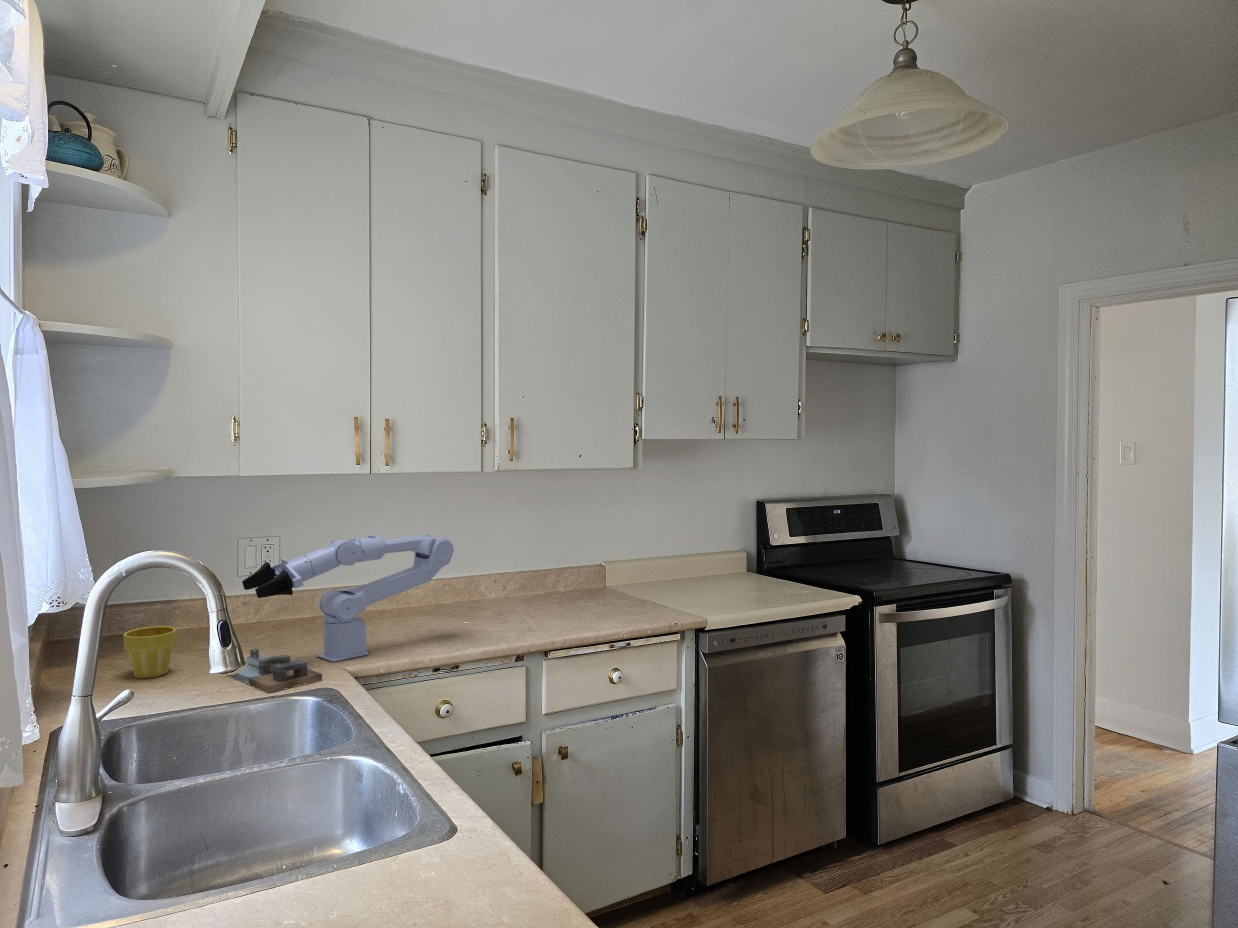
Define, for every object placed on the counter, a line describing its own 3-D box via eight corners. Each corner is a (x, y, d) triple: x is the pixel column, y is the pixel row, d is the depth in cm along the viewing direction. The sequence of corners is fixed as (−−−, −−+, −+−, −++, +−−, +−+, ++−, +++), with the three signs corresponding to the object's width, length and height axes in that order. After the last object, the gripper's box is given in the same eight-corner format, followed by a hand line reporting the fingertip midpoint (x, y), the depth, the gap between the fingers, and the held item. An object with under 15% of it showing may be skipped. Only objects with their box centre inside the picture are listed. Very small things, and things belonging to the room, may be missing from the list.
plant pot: (117, 682, 180) (117, 637, 180) (131, 669, 190) (130, 627, 190) (171, 678, 183) (170, 634, 183) (181, 666, 193) (180, 624, 192)
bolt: (257, 660, 192) (257, 648, 191) (281, 670, 184) (280, 656, 184) (247, 663, 190) (247, 650, 190) (270, 672, 183) (270, 658, 182)
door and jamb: (273, 662, 197) (273, 643, 196) (321, 680, 182) (321, 660, 182) (222, 672, 187) (222, 653, 187) (268, 693, 173) (268, 671, 173)
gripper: (290, 544, 200) (233, 566, 191) (316, 557, 189) (258, 581, 181) (297, 571, 202) (241, 593, 193) (324, 585, 191) (266, 610, 183)
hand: (250, 589), depth 187 cm, fingers open, 7 cm apart
